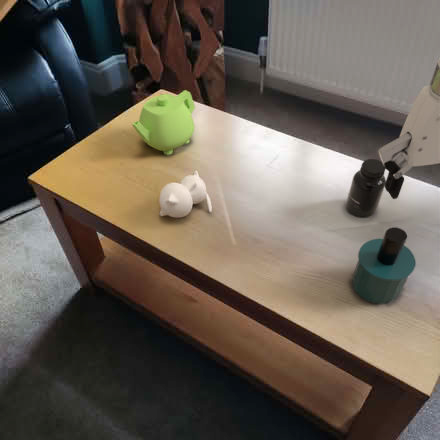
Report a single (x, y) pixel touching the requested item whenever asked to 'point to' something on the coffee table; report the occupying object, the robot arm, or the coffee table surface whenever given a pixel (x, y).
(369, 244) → the lid
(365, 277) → the tin
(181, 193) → the cat figurine
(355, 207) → the supplement bottle
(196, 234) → the coffee table surface
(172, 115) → the teapot
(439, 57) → the robot arm
